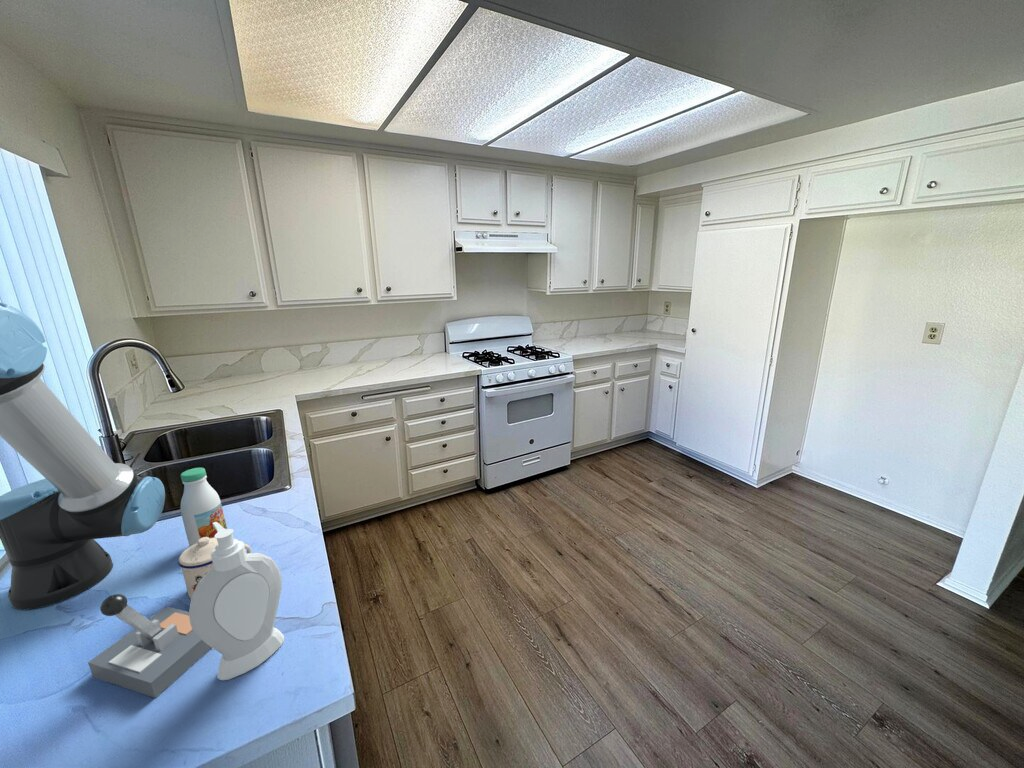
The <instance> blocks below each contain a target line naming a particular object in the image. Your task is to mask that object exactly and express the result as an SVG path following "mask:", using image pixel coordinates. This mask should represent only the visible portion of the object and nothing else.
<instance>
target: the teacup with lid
mask: <svg viewBox="0 0 1024 768" xmlns="http://www.w3.org/2000/svg"><path fill="white" fill-rule="evenodd" d="M216 545H218V542H217V539H216V538H210V539H209V538H208V537H203V538H201V539H199V540H198V542H197V543H196V544H194V545H192V546H190V547H189V546H188V547H187V548H185V550H184V551H182V553H181V554H180V556H179V558H178V561H177V562H178V566H179V567H180V568H181V571H182V575H183V579H184V580H183V581H184V583H185V587H186V590H187V594H188V597H189V599H190V600H191V597H192V594H193V593H194V591H195V589H196V587H197V585H198V583H199V581H200V580H201V579H202V578H203V577H204V576H205V575H206V574H207V573H208V572H209V571H210V570H211V569H212V568H213V562H212V558H211V553H212V551H213V550H214V549H215V547H216ZM244 546H245V550H246V554H247V553H252V549H251V546H250V545H249V544H247V543H244Z"/></svg>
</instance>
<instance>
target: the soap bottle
mask: <svg viewBox="0 0 1024 768" xmlns="http://www.w3.org/2000/svg"><path fill="white" fill-rule="evenodd" d="M213 526H214V527H215V528H216V530H217V533H216V534H215V538H216V539H217V542H218V545H216V547H215V549H214V550H213V551H212V553H211V558H212V562H213V568H212V569H211V570H210V571H209V572H208V573H207V574H206V575H205V576H204V577H203V578H202V579H201V580H200V581H199V583H198V585H197V587H196V589H195V591H194V593H193V594H192V597H191V599H190V605H189V609H188V612H189V617H190V624H191V627H192V629H193V631H194V632H195V633H196V635H197V636H198V637H199V638H201V639H202V640H203V641H204V642H205V643H206V644H207V645H209V646H210V647H212V648H211V649H214V650H215V651H217V652H218V653H219V654H221V657H220V659H219V664H218V669H217V676H216V677H217V679H218V680H220V681H228V680H231V679H233V678H236V677H238V676H242V675H243V674H245V673H246V674H247V672H249V671H251V670H253V669H254V668H256V667H258V666H260V665H261V664H262V663H264V662H265V661H266V660H267V659H269V658H270V657H271V656H273V654H274V653H275V652H276V651H277V650H279V648H280V647H282V645H283V643H284V642H285V636H284V634H283V633H282V632H281V631H280V629H278V628H276V627H274V625H275V621H276V617H277V613H278V609H279V604H280V599H281V594H282V593H281V592H282V586H283V584H282V583H283V579H282V574H281V571H280V568H279V566H278V565H277V564H276V562H275V560H273V558H272V557H271V556H268V555H266V554H263V553H261V552H253V553H252V552H251V553H247V550H246V549H245V546H244V544H245V542H244V541H242V540H238V539H237V538H234V534H233V533H234V529H233V528H227V529H224V528H223V527H222V526H221V525H220V524H219V523H217V522H214V523H213Z"/></svg>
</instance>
